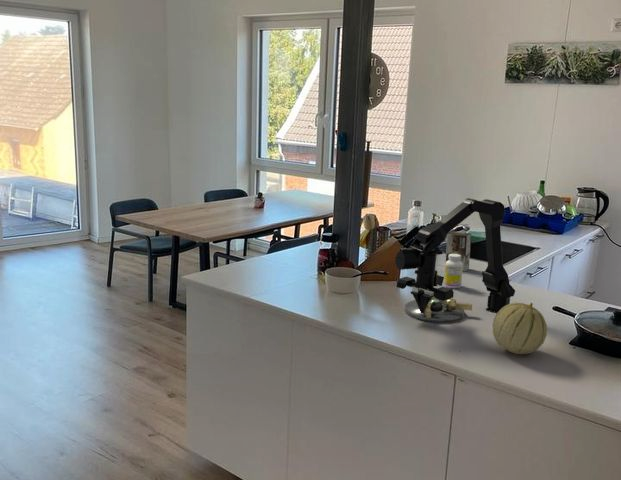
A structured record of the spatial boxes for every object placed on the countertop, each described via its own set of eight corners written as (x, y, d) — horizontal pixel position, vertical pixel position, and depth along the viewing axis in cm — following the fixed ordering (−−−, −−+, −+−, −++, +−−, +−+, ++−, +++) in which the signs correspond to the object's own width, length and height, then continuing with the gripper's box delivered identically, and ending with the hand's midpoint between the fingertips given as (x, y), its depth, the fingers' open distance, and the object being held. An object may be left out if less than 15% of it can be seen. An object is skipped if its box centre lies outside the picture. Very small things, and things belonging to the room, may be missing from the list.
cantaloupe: (480, 346, 172) (484, 298, 169) (518, 339, 178) (523, 292, 174) (515, 366, 159) (520, 314, 155) (555, 357, 164) (561, 307, 161)
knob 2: (445, 310, 197) (446, 301, 196) (445, 306, 200) (446, 298, 199) (472, 312, 195) (472, 303, 195) (471, 309, 198) (472, 300, 198)
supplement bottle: (448, 282, 235) (450, 252, 232) (464, 286, 231) (466, 254, 228) (441, 286, 230) (443, 255, 227) (456, 289, 225) (458, 258, 223)
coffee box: (469, 268, 256) (472, 233, 253) (464, 272, 251) (467, 235, 247) (449, 265, 261) (451, 230, 257) (444, 268, 256) (447, 233, 252)
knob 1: (420, 309, 197) (421, 300, 196) (429, 309, 197) (430, 300, 196) (423, 318, 189) (424, 309, 188) (433, 318, 189) (434, 309, 188)
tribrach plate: (474, 312, 200) (475, 300, 199) (444, 327, 186) (445, 314, 185) (424, 299, 214) (425, 288, 213) (393, 312, 199) (394, 300, 198)
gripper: (464, 269, 187) (459, 315, 190) (415, 257, 199) (412, 300, 203) (446, 275, 179) (441, 323, 182) (397, 262, 191) (393, 307, 195)
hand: (422, 312), depth 191 cm, fingers closed
